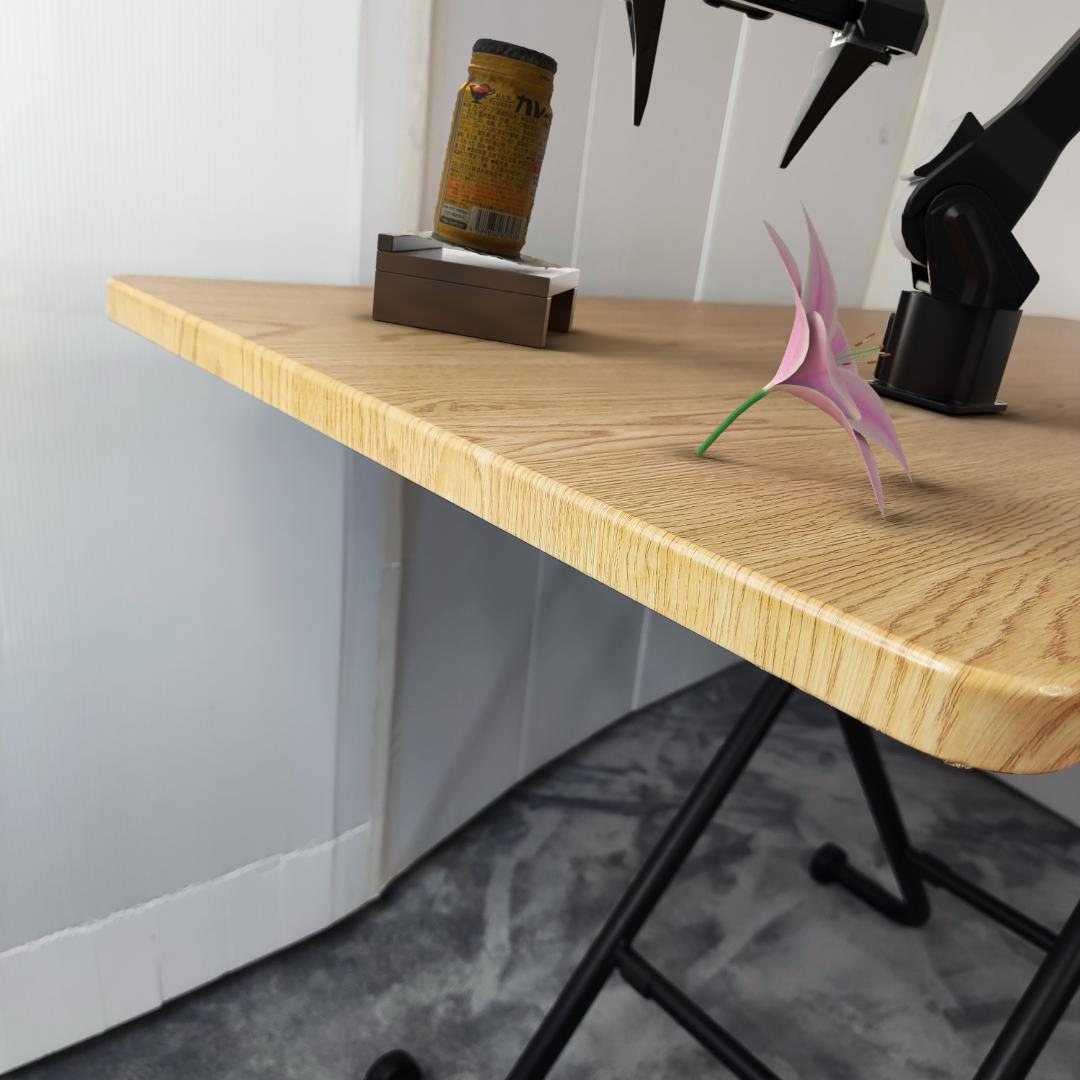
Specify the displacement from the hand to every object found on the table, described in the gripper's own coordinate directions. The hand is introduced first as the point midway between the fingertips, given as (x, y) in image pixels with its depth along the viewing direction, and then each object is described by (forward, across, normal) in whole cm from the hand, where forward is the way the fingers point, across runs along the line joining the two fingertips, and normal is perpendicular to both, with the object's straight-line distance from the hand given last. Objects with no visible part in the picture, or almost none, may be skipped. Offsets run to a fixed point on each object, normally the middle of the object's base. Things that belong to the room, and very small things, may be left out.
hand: (708, 147), depth 57 cm
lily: (+12, -3, +27) cm, 30 cm away
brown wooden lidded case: (+14, +11, -2) cm, 18 cm away
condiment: (+10, +12, -2) cm, 15 cm away
